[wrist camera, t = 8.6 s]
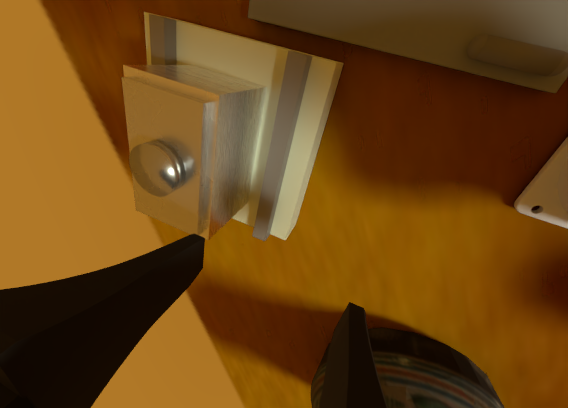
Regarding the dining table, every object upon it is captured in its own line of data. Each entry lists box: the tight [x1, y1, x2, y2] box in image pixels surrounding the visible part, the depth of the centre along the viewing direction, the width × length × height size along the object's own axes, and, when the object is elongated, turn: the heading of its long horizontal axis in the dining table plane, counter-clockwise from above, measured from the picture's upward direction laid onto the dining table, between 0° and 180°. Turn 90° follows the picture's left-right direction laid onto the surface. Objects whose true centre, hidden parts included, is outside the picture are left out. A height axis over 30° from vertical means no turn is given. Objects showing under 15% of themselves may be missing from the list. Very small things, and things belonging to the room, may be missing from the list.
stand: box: [144, 12, 344, 241], centre depth 18 cm, size 12×12×4 cm
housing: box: [121, 65, 267, 240], centre depth 15 cm, size 8×5×6 cm, turn 167°
